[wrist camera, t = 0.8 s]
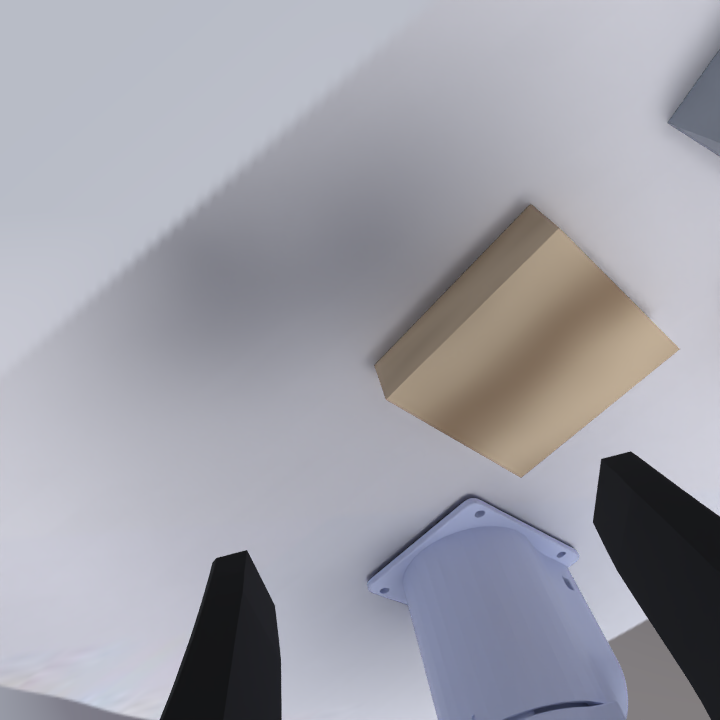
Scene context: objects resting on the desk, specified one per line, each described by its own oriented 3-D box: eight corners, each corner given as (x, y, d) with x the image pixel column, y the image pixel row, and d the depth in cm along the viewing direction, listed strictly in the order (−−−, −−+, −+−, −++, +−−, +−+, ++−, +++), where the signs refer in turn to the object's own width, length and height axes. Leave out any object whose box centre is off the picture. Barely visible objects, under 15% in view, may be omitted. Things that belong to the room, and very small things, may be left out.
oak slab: (641, 315, 23) (679, 349, 21) (499, 437, 26) (521, 477, 24) (525, 199, 19) (559, 227, 17) (372, 358, 22) (385, 399, 20)
